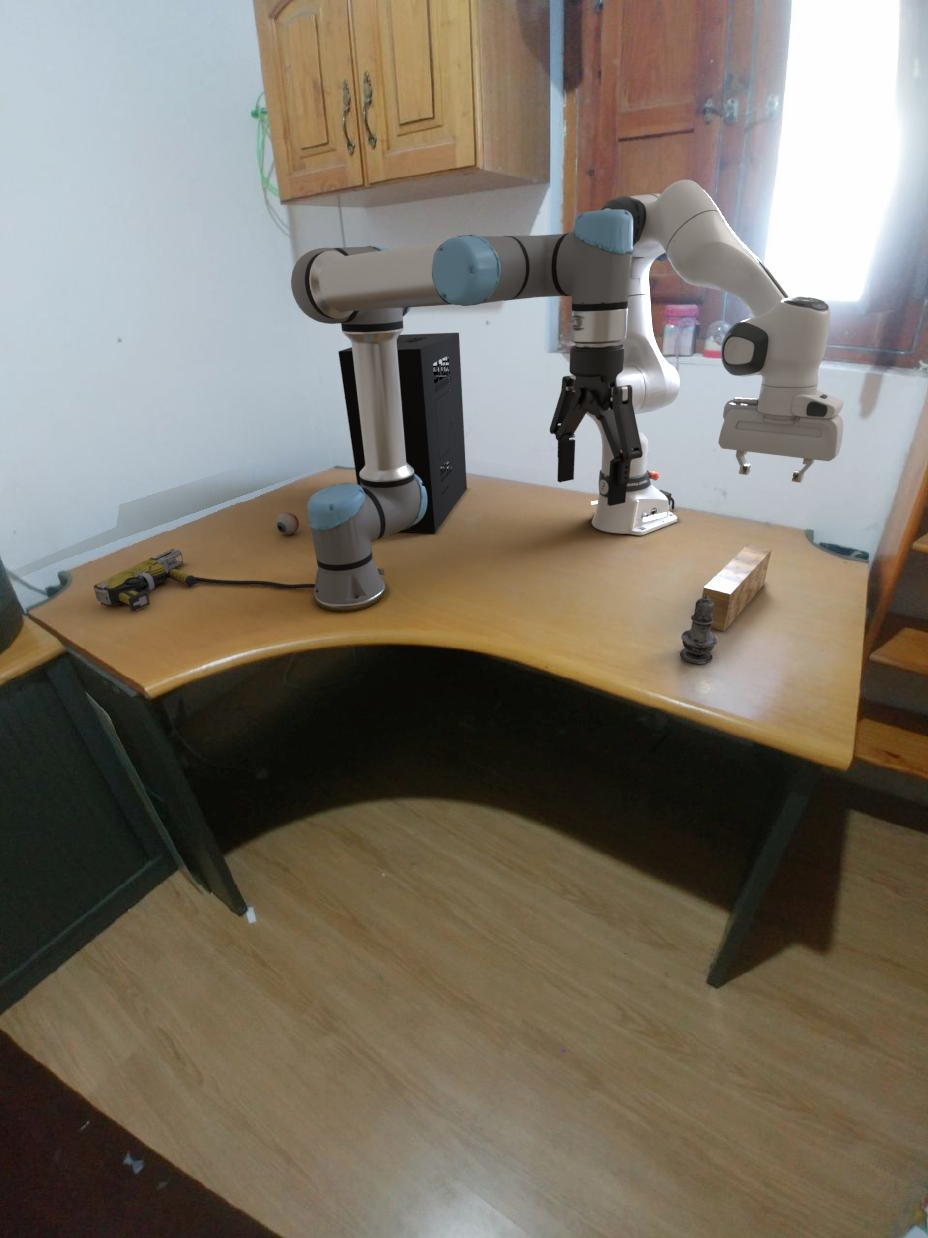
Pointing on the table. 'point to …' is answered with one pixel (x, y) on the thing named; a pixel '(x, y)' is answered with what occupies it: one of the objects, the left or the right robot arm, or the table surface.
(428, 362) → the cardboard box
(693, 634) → the dark grey piece
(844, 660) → the table surface
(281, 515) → the eyeball
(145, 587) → the toy gun
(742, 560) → the bar
